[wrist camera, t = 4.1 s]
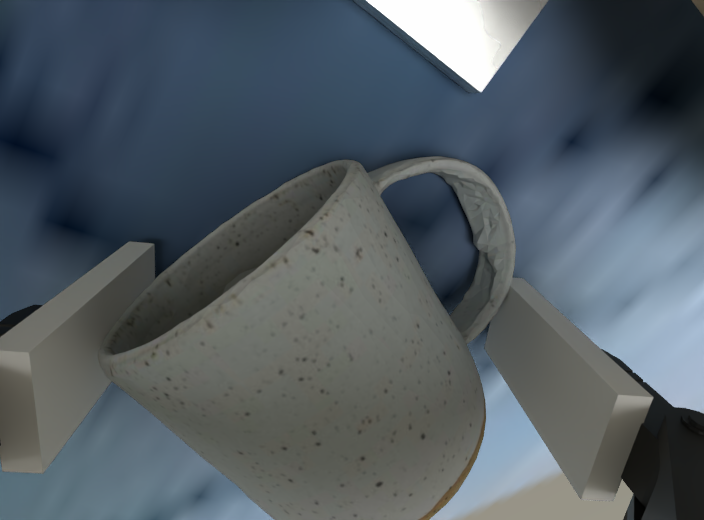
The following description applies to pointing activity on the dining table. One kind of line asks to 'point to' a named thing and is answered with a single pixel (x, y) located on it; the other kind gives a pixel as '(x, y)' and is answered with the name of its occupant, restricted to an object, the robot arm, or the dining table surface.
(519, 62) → the dining table surface
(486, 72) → the stand
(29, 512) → the dining table surface
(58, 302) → the robot arm
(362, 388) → the ceramic mug
